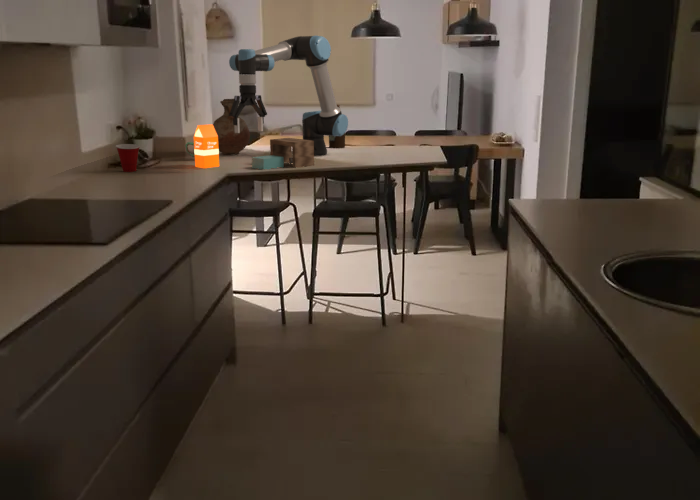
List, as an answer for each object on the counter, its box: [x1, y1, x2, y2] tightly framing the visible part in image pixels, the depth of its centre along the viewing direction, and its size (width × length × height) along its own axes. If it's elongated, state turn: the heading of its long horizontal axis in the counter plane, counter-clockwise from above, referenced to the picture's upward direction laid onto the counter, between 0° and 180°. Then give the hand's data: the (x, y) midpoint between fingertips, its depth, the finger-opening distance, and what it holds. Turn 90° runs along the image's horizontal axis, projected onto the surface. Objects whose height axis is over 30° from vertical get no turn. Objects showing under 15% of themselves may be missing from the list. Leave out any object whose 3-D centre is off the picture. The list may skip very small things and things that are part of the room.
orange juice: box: [193, 123, 220, 169], centre depth 328 cm, size 8×9×20 cm
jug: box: [213, 98, 251, 156], centre depth 373 cm, size 22×22×30 cm
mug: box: [184, 141, 195, 159], centre depth 352 cm, size 15×10×10 cm
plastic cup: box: [115, 143, 141, 173], centre depth 315 cm, size 11×11×12 cm
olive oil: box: [328, 104, 346, 149], centre depth 406 cm, size 11×11×25 cm
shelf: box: [269, 137, 315, 168], centre depth 336 cm, size 12×19×12 cm, turn 44°
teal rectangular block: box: [251, 154, 285, 170], centre depth 327 cm, size 12×9×5 cm
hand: (249, 131), depth 316 cm, fingers open, 13 cm apart
